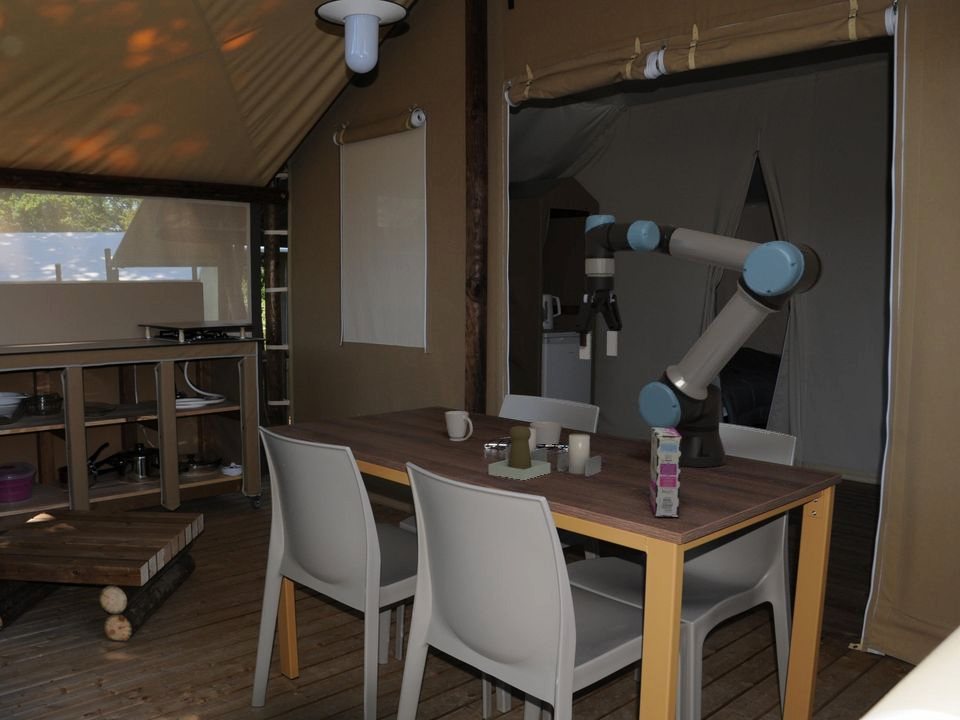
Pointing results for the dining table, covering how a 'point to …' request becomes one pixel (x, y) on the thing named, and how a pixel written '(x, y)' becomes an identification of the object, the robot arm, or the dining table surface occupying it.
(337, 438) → the dining table surface
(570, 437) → the cream jar
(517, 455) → the cork
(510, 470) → the tray
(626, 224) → the robot arm
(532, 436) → the cream rounded capsule
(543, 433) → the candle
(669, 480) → the candy bar box
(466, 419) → the cup
